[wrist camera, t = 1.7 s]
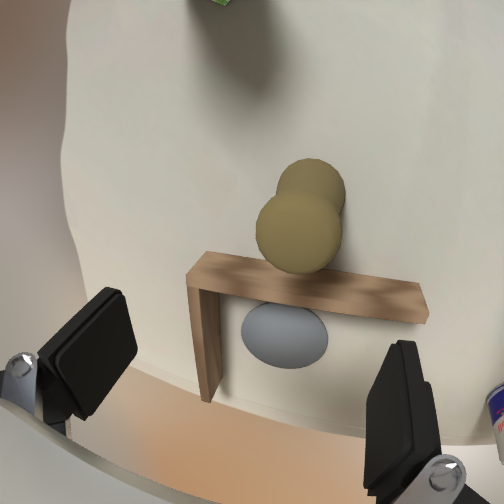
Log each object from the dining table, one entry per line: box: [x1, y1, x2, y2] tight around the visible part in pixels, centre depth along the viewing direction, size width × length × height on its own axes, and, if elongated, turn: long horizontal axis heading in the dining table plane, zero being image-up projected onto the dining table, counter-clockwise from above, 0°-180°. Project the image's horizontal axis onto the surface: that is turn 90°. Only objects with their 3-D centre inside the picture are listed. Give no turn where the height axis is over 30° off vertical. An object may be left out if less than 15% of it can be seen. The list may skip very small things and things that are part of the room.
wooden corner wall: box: [186, 251, 429, 403], centre depth 32 cm, size 22×20×5 cm
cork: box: [256, 158, 345, 275], centre depth 22 cm, size 6×6×11 cm
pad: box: [241, 302, 328, 369], centre depth 34 cm, size 10×10×1 cm
